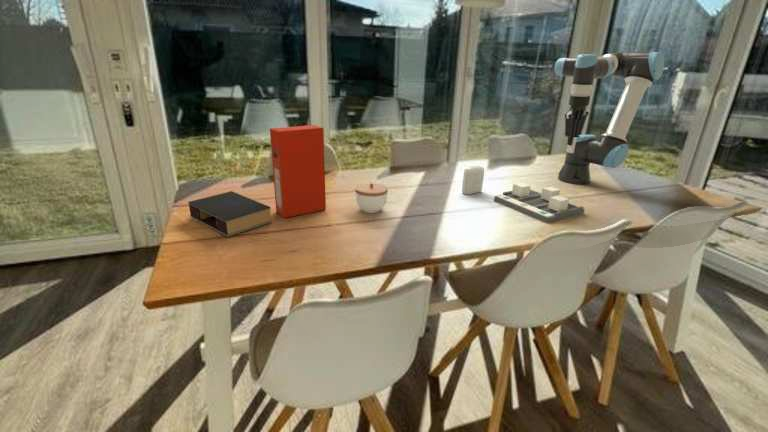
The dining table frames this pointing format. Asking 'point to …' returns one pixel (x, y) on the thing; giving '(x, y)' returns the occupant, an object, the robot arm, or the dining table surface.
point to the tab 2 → (558, 203)
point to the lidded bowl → (371, 197)
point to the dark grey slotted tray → (537, 206)
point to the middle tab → (549, 193)
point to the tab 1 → (521, 189)
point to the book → (230, 213)
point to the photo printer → (473, 179)
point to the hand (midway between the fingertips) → (569, 152)
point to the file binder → (298, 169)
